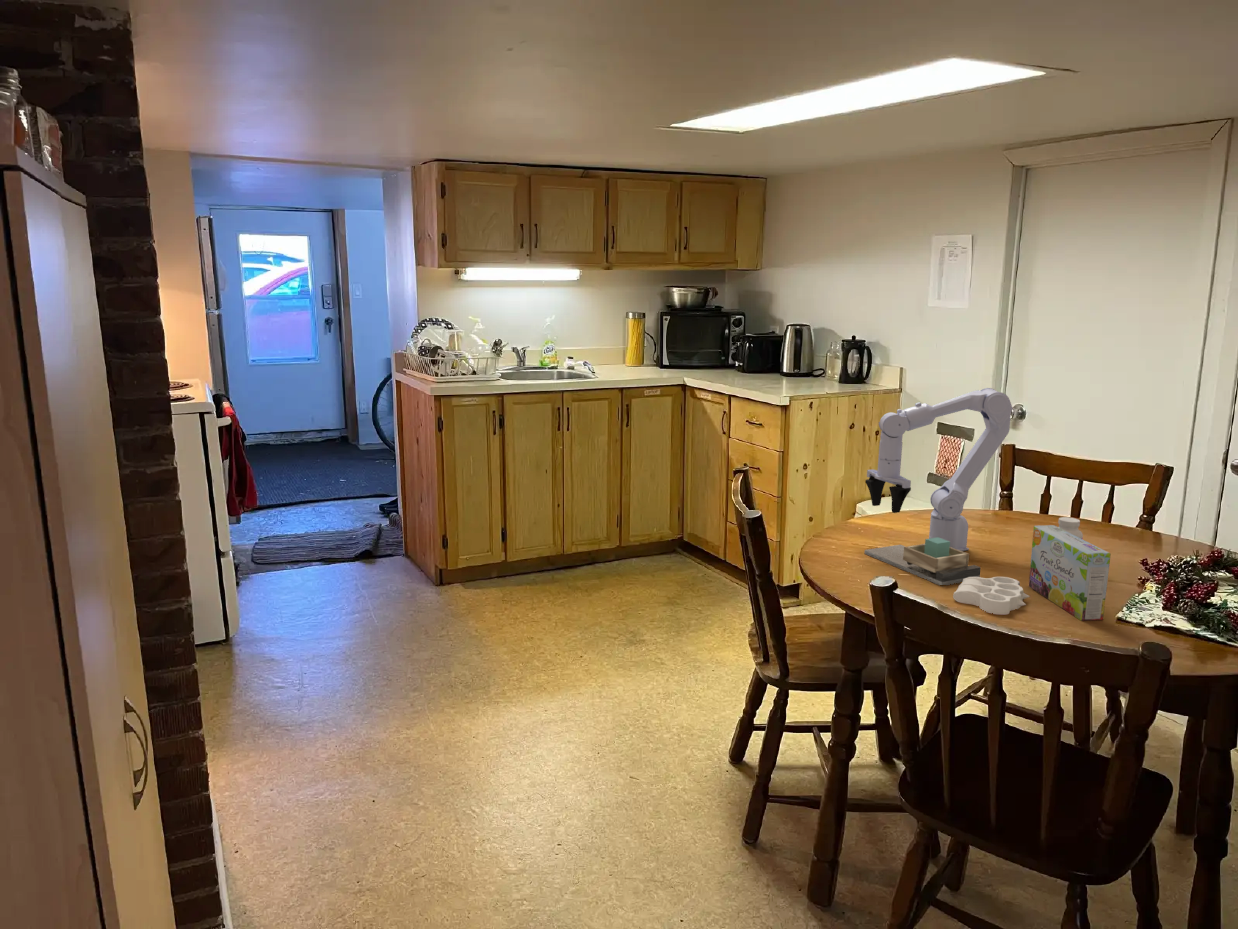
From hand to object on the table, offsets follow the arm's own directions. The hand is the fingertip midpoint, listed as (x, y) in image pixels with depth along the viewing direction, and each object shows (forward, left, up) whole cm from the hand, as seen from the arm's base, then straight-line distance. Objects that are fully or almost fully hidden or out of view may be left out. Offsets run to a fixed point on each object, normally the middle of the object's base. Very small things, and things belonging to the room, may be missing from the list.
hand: (885, 508), depth 232 cm
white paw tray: (+5, +41, -11) cm, 43 cm away
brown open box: (+3, +22, -9) cm, 24 cm away
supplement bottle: (-28, +33, -11) cm, 45 cm away
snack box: (-8, +49, -11) cm, 51 cm away
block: (+3, +22, -7) cm, 23 cm away
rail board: (+3, +17, -10) cm, 20 cm away
